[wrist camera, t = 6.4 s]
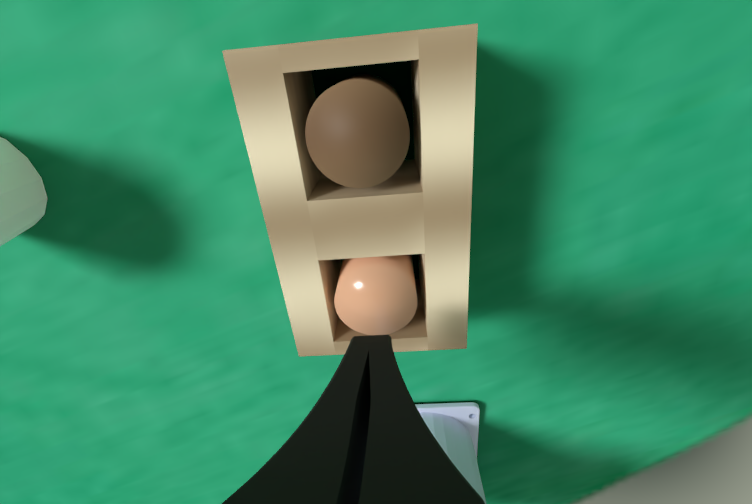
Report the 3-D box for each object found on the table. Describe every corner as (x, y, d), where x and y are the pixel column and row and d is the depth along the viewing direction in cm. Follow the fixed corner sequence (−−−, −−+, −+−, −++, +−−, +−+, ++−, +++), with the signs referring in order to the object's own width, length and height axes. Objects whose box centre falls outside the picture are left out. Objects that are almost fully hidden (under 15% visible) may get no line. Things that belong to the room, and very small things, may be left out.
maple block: (450, 288, 22) (466, 348, 17) (316, 296, 22) (299, 356, 18) (452, 32, 16) (477, 23, 11) (267, 52, 16) (222, 50, 12)
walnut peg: (406, 153, 18) (412, 184, 13) (332, 159, 18) (314, 191, 14) (402, 69, 16) (407, 74, 12) (320, 78, 16) (296, 85, 12)
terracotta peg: (412, 277, 21) (419, 333, 17) (349, 281, 21) (340, 337, 17) (409, 218, 19) (415, 264, 15) (341, 223, 19) (328, 270, 15)
